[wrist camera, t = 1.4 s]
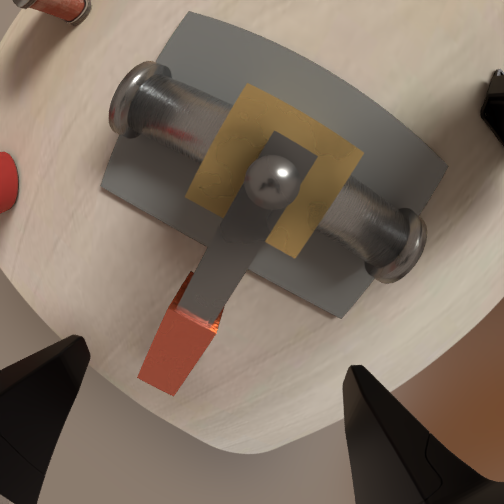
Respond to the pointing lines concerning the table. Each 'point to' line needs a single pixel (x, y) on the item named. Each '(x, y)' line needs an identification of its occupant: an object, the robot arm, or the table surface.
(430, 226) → the table surface
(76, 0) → the lighter
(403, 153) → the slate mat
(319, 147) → the valve body
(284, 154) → the lever
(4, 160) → the beer can
